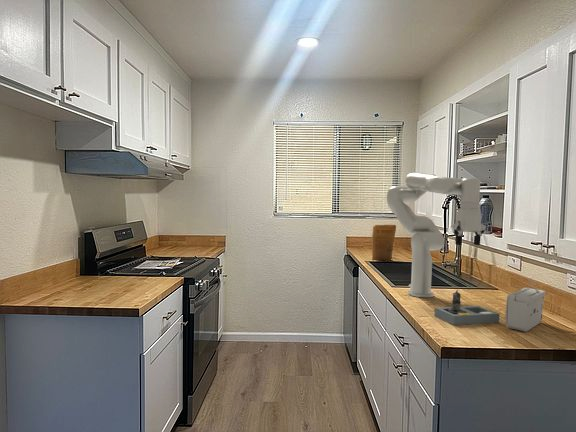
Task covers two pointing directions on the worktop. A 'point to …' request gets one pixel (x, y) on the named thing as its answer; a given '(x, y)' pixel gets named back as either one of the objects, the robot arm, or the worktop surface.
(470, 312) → the socket board
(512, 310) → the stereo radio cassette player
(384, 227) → the pancake mix bag
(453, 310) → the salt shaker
